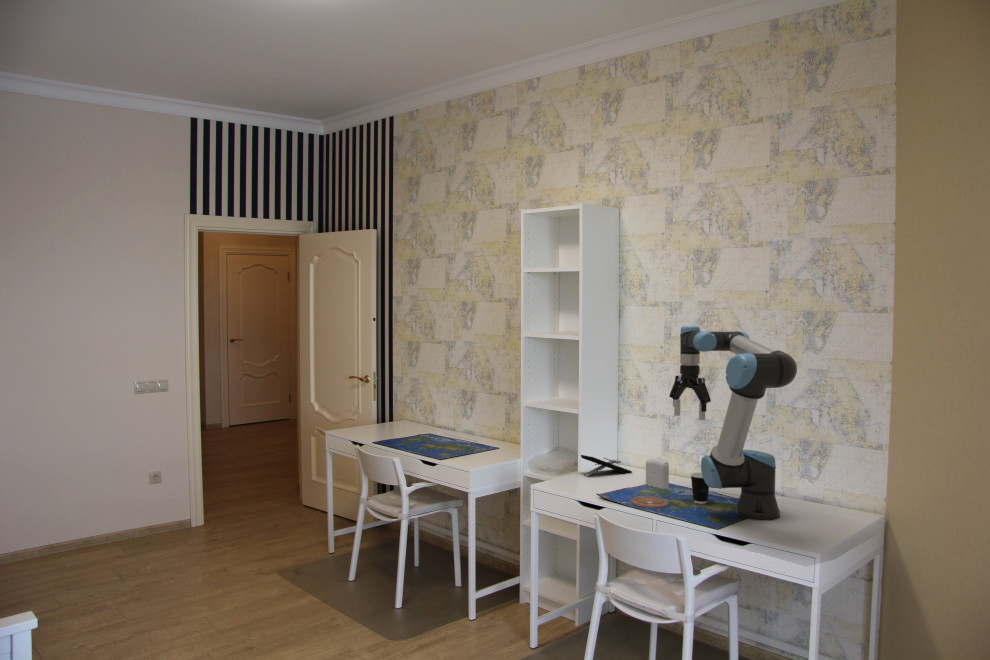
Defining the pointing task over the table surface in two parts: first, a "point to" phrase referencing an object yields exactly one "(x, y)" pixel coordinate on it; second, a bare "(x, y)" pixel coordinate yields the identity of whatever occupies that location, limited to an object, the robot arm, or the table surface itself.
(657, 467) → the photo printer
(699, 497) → the dixie cup
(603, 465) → the black folding stand
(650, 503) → the dish
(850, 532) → the table surface
